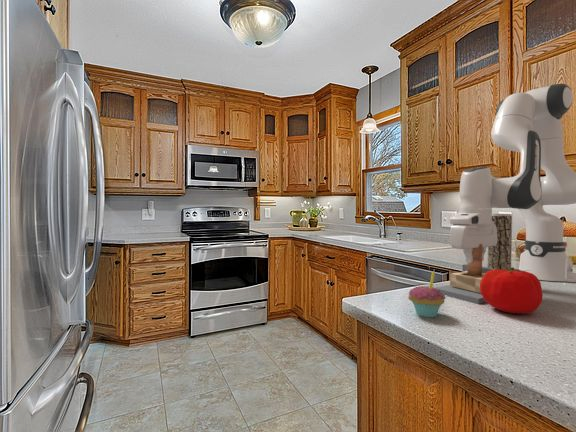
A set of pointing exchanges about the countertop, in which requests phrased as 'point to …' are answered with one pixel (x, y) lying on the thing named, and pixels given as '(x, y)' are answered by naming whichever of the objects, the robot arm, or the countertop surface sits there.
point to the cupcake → (426, 299)
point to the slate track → (463, 293)
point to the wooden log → (501, 243)
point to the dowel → (475, 262)
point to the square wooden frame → (466, 281)
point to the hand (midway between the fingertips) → (474, 261)
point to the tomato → (511, 290)
